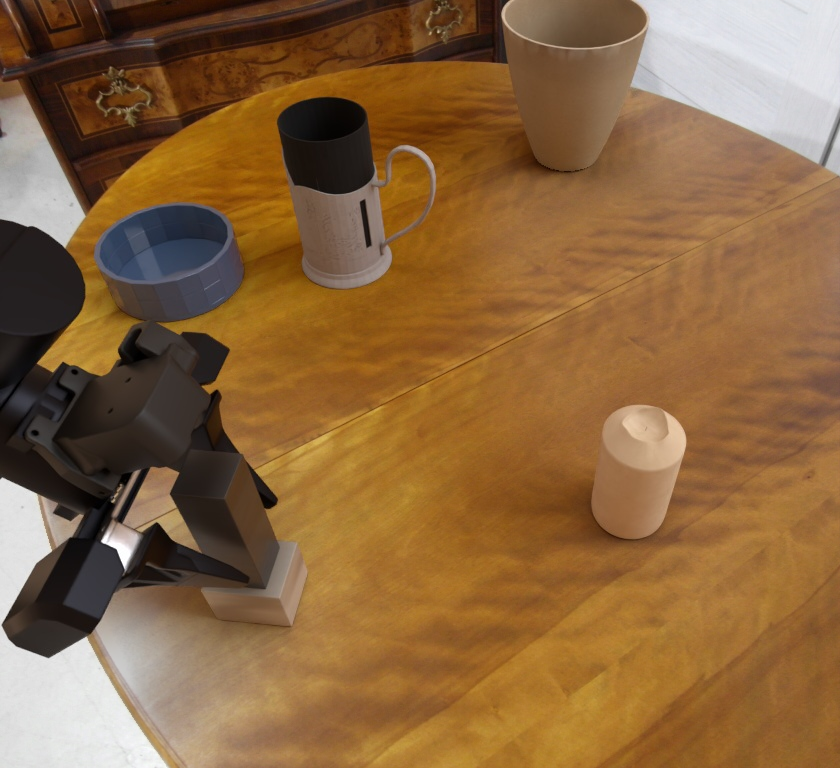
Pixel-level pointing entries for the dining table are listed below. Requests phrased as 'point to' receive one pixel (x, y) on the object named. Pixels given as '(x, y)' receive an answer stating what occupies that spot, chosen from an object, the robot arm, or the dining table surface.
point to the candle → (636, 470)
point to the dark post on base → (239, 539)
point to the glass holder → (339, 191)
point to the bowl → (170, 261)
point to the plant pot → (571, 72)
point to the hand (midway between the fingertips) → (260, 542)
